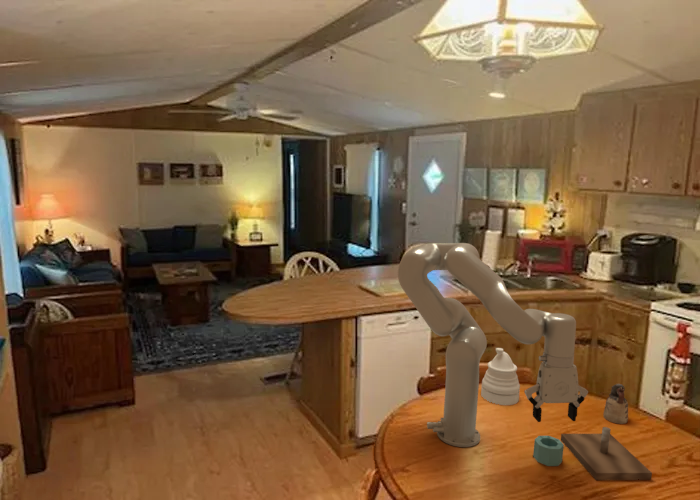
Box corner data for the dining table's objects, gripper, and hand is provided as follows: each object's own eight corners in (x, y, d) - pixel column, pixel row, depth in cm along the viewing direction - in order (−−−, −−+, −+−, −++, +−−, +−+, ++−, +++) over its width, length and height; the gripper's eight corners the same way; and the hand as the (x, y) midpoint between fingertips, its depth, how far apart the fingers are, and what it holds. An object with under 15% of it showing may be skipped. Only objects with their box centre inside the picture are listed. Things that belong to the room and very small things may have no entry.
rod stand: (595, 480, 135) (599, 448, 134) (560, 439, 155) (563, 411, 154) (651, 479, 136) (655, 448, 135) (609, 439, 156) (612, 411, 154)
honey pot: (499, 408, 174) (503, 357, 171) (473, 393, 186) (476, 345, 183) (526, 400, 181) (531, 351, 178) (499, 386, 192) (503, 340, 189)
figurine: (624, 415, 172) (628, 381, 170) (630, 425, 165) (634, 390, 163) (601, 412, 174) (605, 378, 172) (606, 422, 167) (610, 387, 165)
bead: (540, 466, 141) (542, 449, 140) (530, 451, 148) (531, 435, 147) (565, 465, 141) (567, 449, 141) (554, 451, 148) (555, 435, 147)
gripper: (532, 365, 136) (529, 426, 138) (596, 364, 137) (592, 425, 139) (521, 355, 143) (518, 413, 146) (582, 354, 144) (578, 412, 147)
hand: (554, 419), depth 142 cm, fingers open, 9 cm apart
